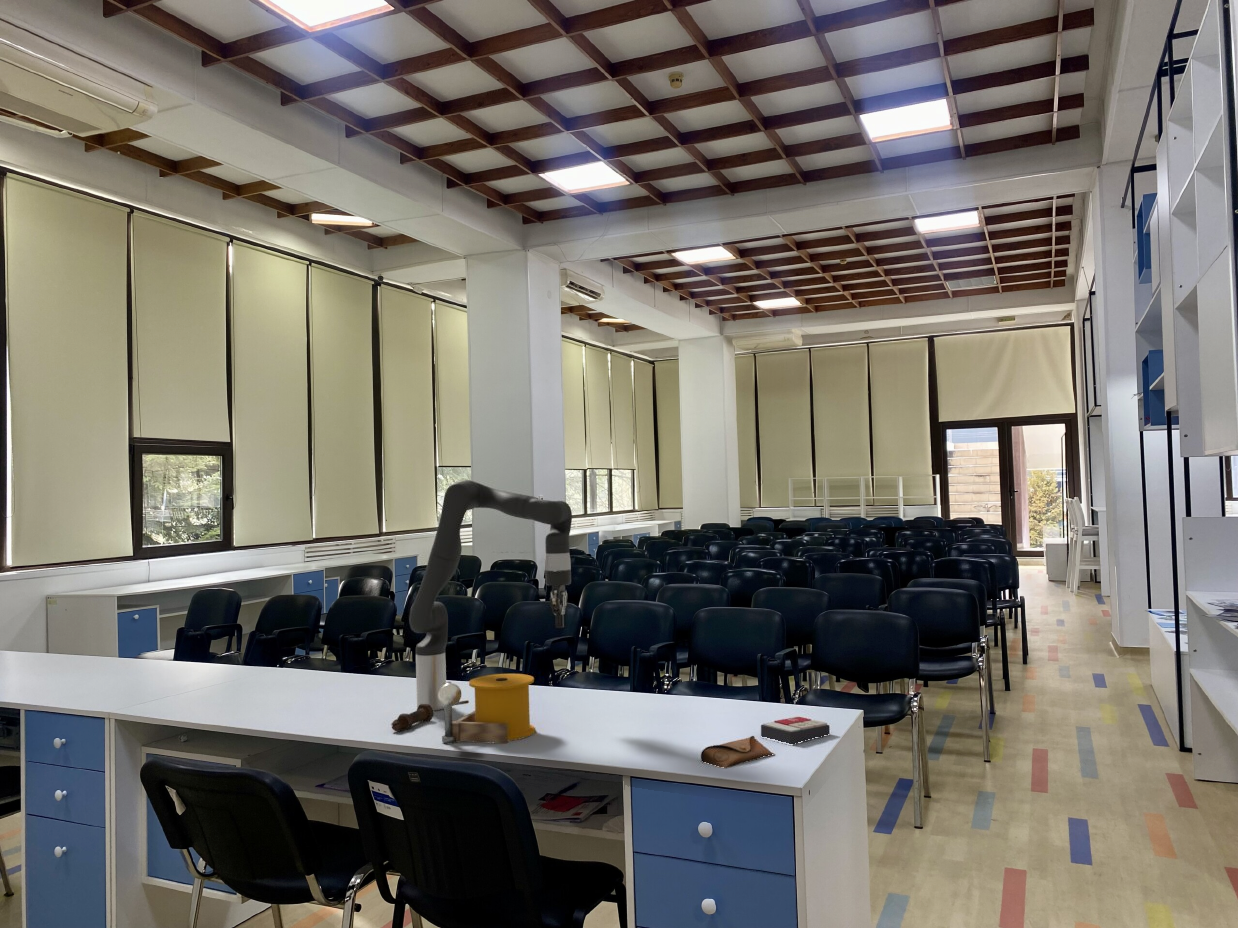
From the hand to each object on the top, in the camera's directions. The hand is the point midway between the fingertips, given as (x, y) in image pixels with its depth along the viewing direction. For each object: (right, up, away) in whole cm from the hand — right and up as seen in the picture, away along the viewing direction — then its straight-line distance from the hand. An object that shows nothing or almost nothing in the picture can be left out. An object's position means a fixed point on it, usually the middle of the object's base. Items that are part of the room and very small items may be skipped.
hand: (559, 627), depth 263 cm
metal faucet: (-27, -27, -21) cm, 44 cm away
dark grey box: (+64, -24, -27) cm, 74 cm away
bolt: (-43, -29, -2) cm, 52 cm away
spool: (-15, -27, -14) cm, 34 cm away
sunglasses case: (+47, -24, -45) cm, 69 cm away
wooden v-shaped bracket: (-23, -27, -18) cm, 40 cm away
